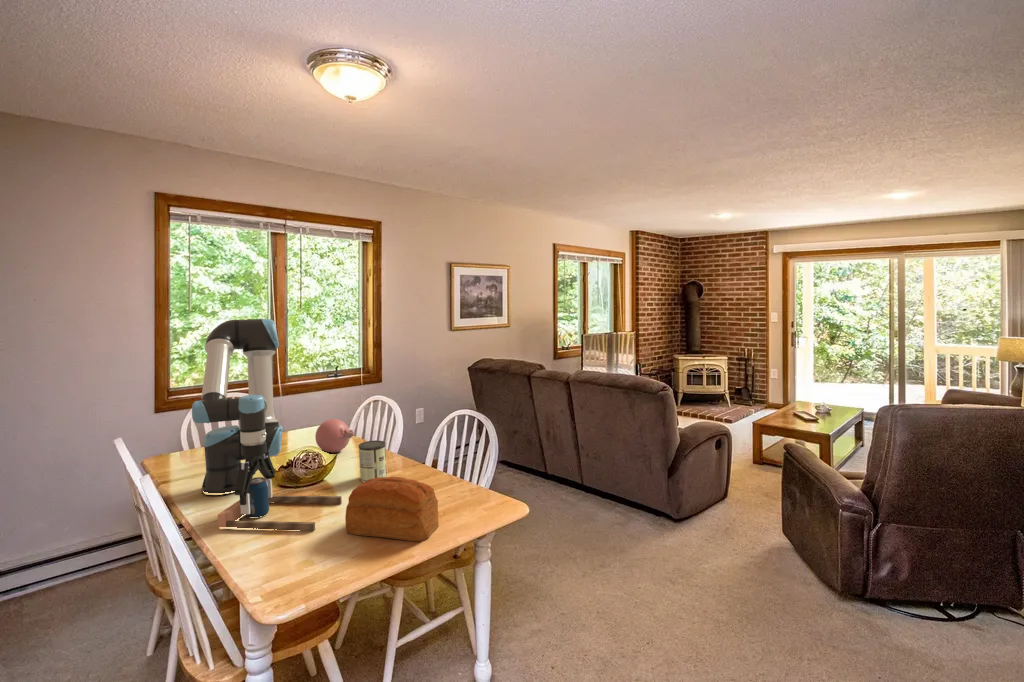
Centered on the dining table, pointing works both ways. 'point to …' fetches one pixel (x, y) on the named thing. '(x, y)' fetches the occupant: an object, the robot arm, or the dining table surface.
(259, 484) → the soda can
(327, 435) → the pink party balloon
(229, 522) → the walnut lane
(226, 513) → the end stop
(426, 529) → the bread
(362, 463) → the coffee can
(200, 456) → the dining table surface
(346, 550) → the dining table surface
